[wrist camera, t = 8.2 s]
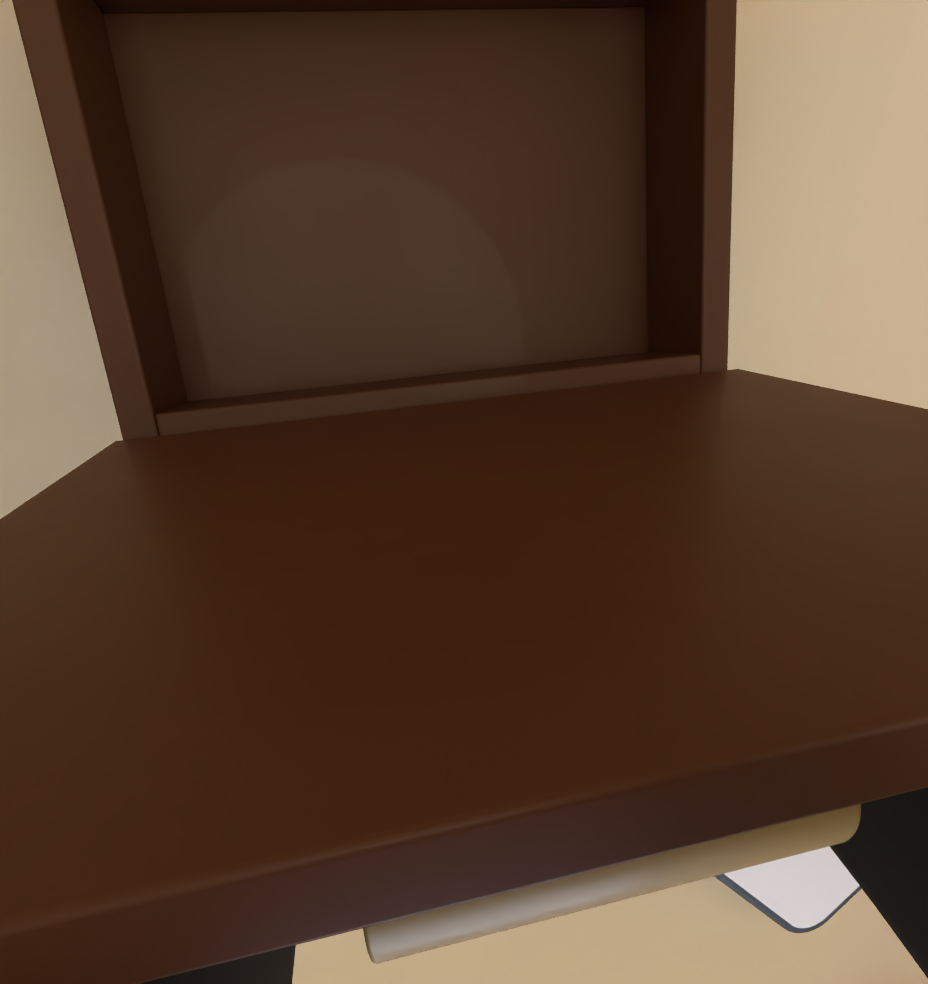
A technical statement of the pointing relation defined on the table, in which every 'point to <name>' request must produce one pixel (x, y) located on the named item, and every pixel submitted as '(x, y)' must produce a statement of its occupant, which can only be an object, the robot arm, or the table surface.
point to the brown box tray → (388, 197)
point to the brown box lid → (451, 667)
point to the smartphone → (796, 888)
